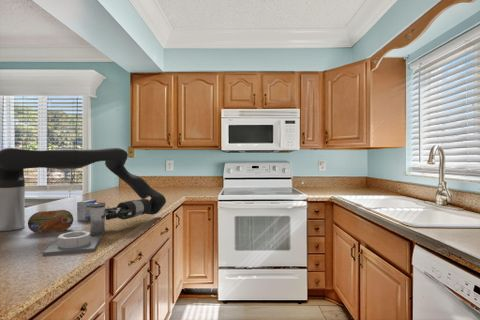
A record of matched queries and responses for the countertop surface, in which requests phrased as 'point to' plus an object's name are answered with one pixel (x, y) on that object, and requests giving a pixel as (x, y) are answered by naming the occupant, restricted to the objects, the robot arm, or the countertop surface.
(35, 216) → the tin
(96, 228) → the silver metal canister
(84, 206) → the medicine box
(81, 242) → the collar
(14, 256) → the countertop surface
